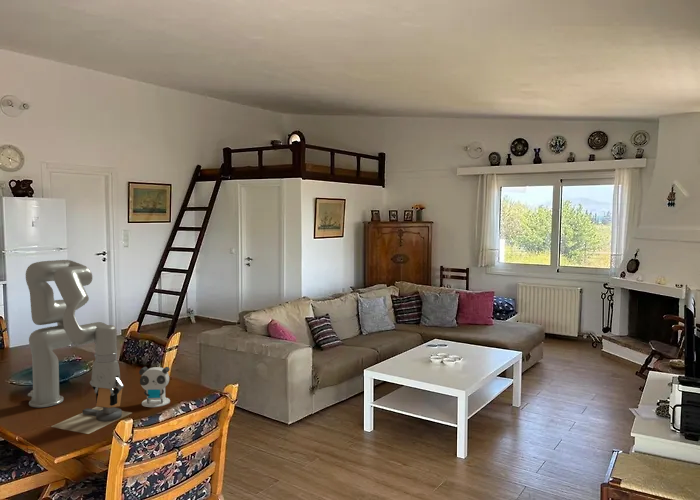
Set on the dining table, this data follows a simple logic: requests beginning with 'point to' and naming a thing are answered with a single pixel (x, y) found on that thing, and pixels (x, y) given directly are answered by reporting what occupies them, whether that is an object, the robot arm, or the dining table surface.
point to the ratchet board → (92, 419)
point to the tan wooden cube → (107, 398)
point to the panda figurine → (154, 386)
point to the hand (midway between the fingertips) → (106, 402)
